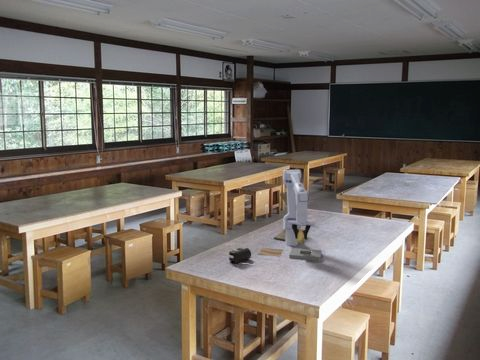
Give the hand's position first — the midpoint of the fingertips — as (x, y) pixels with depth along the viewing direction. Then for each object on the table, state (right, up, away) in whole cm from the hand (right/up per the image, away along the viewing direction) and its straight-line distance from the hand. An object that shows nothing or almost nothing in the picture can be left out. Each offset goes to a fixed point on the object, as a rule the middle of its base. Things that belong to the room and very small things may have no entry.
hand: (300, 238), depth 250 cm
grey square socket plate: (+3, -10, +1) cm, 10 cm away
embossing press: (-2, -4, +40) cm, 40 cm away
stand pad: (-16, -9, +6) cm, 19 cm away
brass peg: (0, -2, 0) cm, 2 cm away
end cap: (-33, -11, -8) cm, 35 cm away
